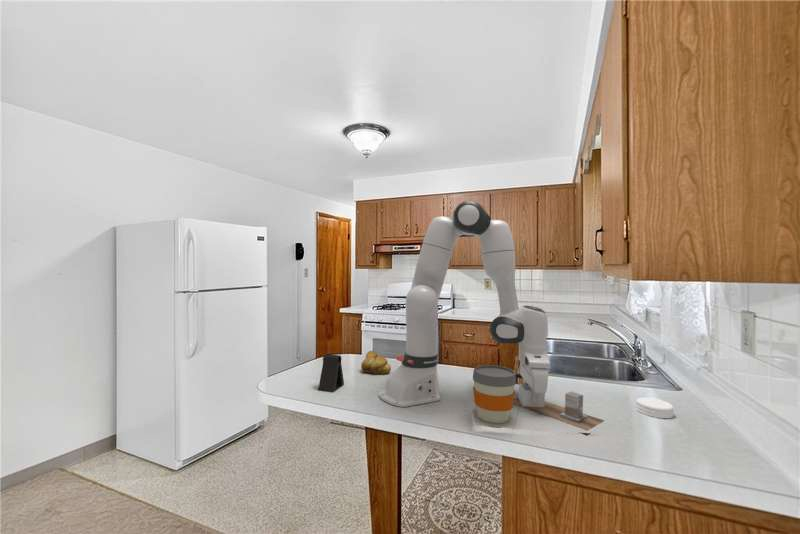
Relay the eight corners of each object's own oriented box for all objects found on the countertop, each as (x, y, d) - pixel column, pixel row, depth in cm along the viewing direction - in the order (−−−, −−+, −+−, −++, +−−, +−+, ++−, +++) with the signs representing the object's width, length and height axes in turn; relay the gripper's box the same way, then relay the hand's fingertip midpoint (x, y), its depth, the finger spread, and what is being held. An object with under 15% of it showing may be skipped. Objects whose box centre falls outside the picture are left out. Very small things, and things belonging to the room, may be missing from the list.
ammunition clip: (543, 390, 138) (544, 358, 138) (542, 391, 136) (543, 359, 136) (513, 385, 142) (514, 355, 142) (512, 387, 141) (513, 356, 141)
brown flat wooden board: (587, 435, 101) (588, 405, 101) (506, 405, 122) (507, 380, 121) (604, 425, 108) (605, 396, 108) (525, 398, 128) (526, 374, 128)
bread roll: (394, 372, 156) (395, 353, 156) (382, 377, 148) (382, 358, 148) (369, 367, 163) (370, 349, 163) (356, 372, 154) (357, 353, 154)
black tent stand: (333, 392, 130) (334, 358, 130) (318, 390, 131) (318, 357, 131) (344, 384, 138) (345, 353, 138) (329, 382, 140) (330, 351, 140)
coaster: (628, 409, 122) (629, 398, 122) (649, 405, 126) (650, 395, 126) (659, 421, 113) (659, 410, 113) (680, 417, 117) (681, 406, 117)
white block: (544, 407, 117) (544, 390, 117) (523, 406, 118) (523, 388, 118) (538, 399, 124) (539, 383, 124) (518, 398, 124) (519, 382, 124)
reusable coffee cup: (509, 434, 101) (511, 380, 101) (465, 423, 107) (467, 372, 107) (518, 418, 112) (520, 369, 112) (478, 409, 118) (479, 362, 118)
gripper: (516, 348, 131) (515, 386, 131) (530, 363, 111) (529, 409, 111) (534, 349, 131) (533, 387, 131) (552, 364, 110) (550, 410, 110)
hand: (531, 397), depth 121 cm, fingers closed on white block, 7 cm apart
